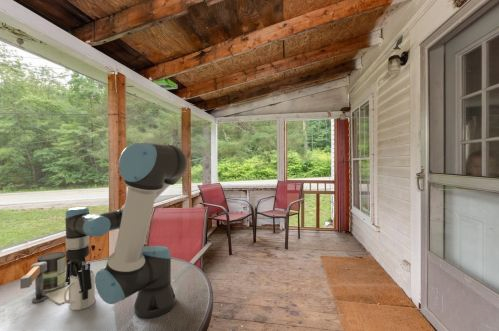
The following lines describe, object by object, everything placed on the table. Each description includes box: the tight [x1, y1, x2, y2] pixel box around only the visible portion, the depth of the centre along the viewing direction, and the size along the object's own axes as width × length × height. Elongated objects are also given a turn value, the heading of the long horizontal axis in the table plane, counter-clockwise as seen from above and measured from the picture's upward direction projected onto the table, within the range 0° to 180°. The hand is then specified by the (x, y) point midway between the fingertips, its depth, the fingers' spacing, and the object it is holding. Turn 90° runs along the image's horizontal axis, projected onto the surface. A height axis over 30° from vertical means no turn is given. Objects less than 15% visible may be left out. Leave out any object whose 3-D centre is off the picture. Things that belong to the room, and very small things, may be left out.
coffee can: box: [36, 251, 67, 292], centre depth 111 cm, size 10×10×14 cm
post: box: [31, 272, 47, 304], centre depth 99 cm, size 4×4×12 cm
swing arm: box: [19, 262, 47, 290], centre depth 93 cm, size 17×5×4 cm, turn 26°
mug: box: [64, 269, 96, 311], centre depth 94 cm, size 12×8×12 cm
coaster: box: [45, 285, 69, 306], centre depth 104 cm, size 13×13×1 cm
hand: (78, 303), depth 95 cm, fingers closed on mug, 8 cm apart
